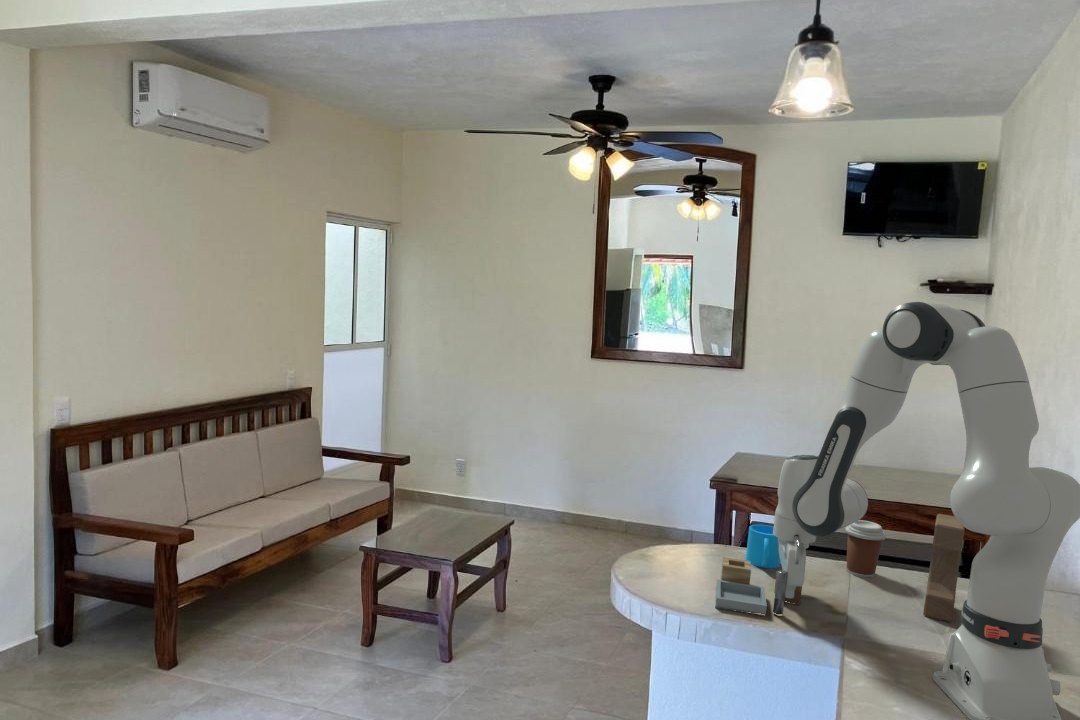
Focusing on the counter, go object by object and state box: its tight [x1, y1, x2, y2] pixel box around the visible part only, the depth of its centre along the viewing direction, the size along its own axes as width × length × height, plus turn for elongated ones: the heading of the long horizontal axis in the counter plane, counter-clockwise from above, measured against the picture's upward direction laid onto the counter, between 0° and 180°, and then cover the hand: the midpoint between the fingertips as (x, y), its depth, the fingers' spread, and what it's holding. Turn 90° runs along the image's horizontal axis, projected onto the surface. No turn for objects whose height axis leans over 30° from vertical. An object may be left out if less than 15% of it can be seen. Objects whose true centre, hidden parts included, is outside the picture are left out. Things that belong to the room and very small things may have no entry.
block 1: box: [720, 556, 752, 585], centre depth 183 cm, size 6×6×5 cm
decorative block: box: [922, 513, 965, 623], centre depth 176 cm, size 11×6×20 cm, turn 151°
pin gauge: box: [772, 569, 788, 615], centre depth 167 cm, size 2×2×9 cm
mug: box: [745, 524, 781, 569], centre depth 198 cm, size 12×8×8 cm
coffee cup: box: [844, 519, 887, 579], centre depth 198 cm, size 9×9×12 cm
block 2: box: [773, 570, 803, 605], centre depth 177 cm, size 5×5×5 cm
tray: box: [714, 579, 768, 615], centre depth 173 cm, size 11×10×2 cm
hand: (787, 591), depth 177 cm, fingers closed on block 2, 5 cm apart
